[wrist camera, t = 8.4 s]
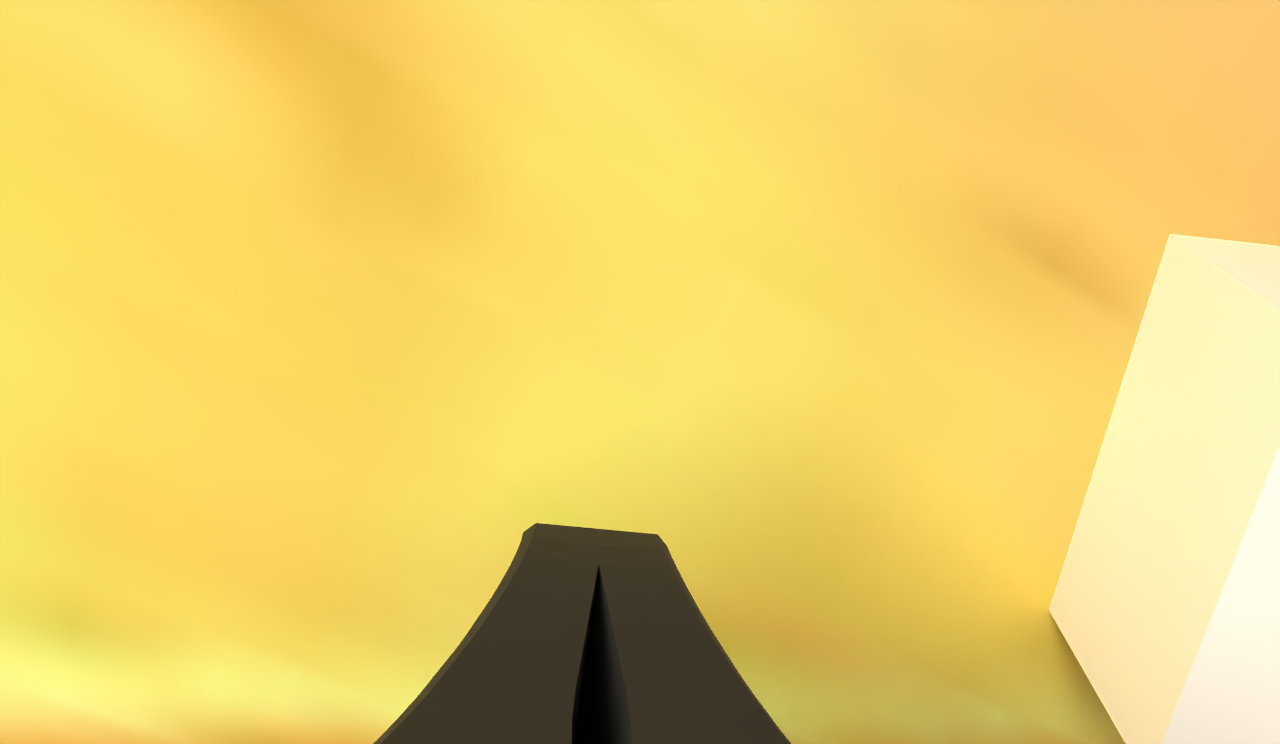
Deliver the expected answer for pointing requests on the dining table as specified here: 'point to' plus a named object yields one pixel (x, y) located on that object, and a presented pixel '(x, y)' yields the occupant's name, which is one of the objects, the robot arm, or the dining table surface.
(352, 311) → the dining table surface
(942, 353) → the dining table surface
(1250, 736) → the cream carton
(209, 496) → the dining table surface
